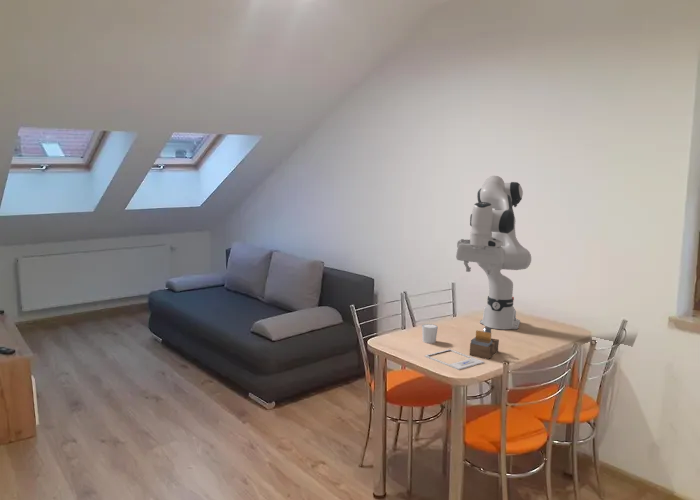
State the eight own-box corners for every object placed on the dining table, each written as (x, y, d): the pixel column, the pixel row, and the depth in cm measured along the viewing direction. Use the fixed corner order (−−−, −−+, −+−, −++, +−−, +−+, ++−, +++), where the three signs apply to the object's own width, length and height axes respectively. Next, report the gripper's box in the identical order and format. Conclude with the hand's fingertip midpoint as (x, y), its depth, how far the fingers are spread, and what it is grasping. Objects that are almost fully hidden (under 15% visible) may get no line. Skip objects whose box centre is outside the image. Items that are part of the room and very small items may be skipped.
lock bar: (475, 340, 227) (475, 330, 227) (492, 343, 224) (492, 333, 223) (470, 343, 223) (471, 332, 223) (488, 346, 219) (488, 336, 219)
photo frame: (458, 368, 207) (424, 354, 221) (458, 371, 207) (424, 357, 221) (484, 361, 216) (449, 348, 230) (484, 363, 216) (449, 351, 230)
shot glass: (437, 340, 244) (438, 324, 243) (436, 344, 237) (436, 328, 236) (422, 338, 246) (423, 323, 245) (420, 342, 239) (420, 327, 238)
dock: (479, 347, 235) (480, 336, 234) (498, 351, 230) (498, 339, 230) (469, 355, 224) (470, 343, 224) (488, 359, 220) (489, 347, 220)
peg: (483, 350, 232) (485, 326, 230) (490, 351, 230) (492, 328, 229) (481, 351, 229) (482, 328, 228) (488, 353, 227) (489, 329, 226)
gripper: (454, 239, 237) (453, 271, 239) (501, 243, 226) (499, 276, 228) (460, 238, 243) (458, 269, 244) (506, 242, 232) (504, 274, 234)
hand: (478, 272), depth 236 cm, fingers open, 8 cm apart
